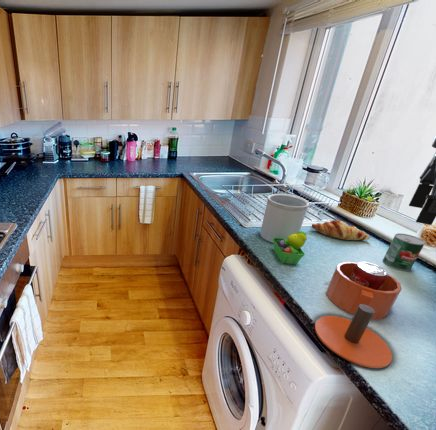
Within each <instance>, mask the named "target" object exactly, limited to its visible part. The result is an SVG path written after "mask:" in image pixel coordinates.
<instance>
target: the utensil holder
mask: <svg viewBox="0 0 436 430" xmlns="http://www.w3.org/2000/svg"><path fill="white" fill-rule="evenodd" d="M266 200H267V202H266V206H265V210H264V215H263V218H262V223H261V228H260V234H259V235H260V237H261V238H262V239H264V240H265V241H267V242H269V243H272V244H274V241H273V238H283V239H288V237H289V235H291V234H296V233H297V232H299V231H301V229H302V226H303V223H304V220H305V217H306V213H307V210H308V208H309V206H310V202H309V200H307V199H305V198H303V197H300V196H298V195H293V194H288V193H272V194H269V195H267V199H266Z"/></svg>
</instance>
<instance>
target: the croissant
mask: <svg viewBox="0 0 436 430" xmlns="http://www.w3.org/2000/svg"><path fill="white" fill-rule="evenodd" d="M311 228H312V229H314V230H315V231H317V232H318V233H320V234H322V235H324V236H327V237H331V238H334V239H340V240H342V241H343V240H344V241H345V240H347V241H369V240H370V239H371V238H372V237H371V236H370V235H368V234H367V233H366V232H365V231H364V230H360V229H358V228H357V227H356V226H355V225H348V224H347V223H346V222H345V221H343V220H336V219H335V220H334V219H333V220H330V221H324V222H323V223H321V222H317V223H312V224H311Z"/></svg>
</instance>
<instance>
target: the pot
mask: <svg viewBox="0 0 436 430" xmlns="http://www.w3.org/2000/svg"><path fill="white" fill-rule="evenodd" d="M357 263H358V262H356V261H355V262H354V261H342V262H340V263H338V264H337V265H336V267H335V269H334V271H333V273H332V276H331V278H330V281H329V283H328V286H327V289H326V295H327V298H328V299H329V300H330V301H331V302H332V303H333V304H334V305H335V306H337V307H338V308H340V309H341V310H342V311H345V312H346V313H348V314H351V315H353V316H354V315H355V313H356V311H357V309H358V306H359V305H360V304H364V305H367V306H370V307H371V308H373V309H374V310H375V313H374V315H373V317H372V318H371V320H373V321H374V320H382V319H384V318H386V317H387V316H388V315H389V314H390V311H391V310H392V308H393V306H394V304H395V302H396V300H397V298H398V297H399V296H400V293H401V291H402V285H401V282H399V280H398V279H397V278H395V276H392V275H391V274H389V273H387V274H388V277H387V279H386V281H385V283H384V285H383V287H382V289H381V291H380V290H374V289H371V288H368V287H365V286H362V285H360V284H358V283H356V282H354V281H352V280H350V279H349V278H350V276H351V274H352V272H353V269H354V267H355V265H356V264H357Z"/></svg>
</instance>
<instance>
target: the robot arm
mask: <svg viewBox="0 0 436 430" xmlns="http://www.w3.org/2000/svg"><path fill="white" fill-rule="evenodd" d="M431 147H432V148H434V149H436V136H435V137H434V139H433V142H432V144H431ZM408 206H409V207H412V208H417V209H418V208H419V209H421V210H420V212H419V214H418V216H417V217H416V220H415V222H416V223H419V224H423V225H429V226H432V225H433V223H434V222H435V219H436V152H435V153H434V155H433V156H432V158H431V159H430V161H429V163H428V164H427V166H426V168H425V169H424V170H423V172H422V173H421V175H420V176H419V183H418V185H417V188H416V189H415V191H414V193H413V195H412V198H411V199H410V202H409V204H408Z"/></svg>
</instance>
